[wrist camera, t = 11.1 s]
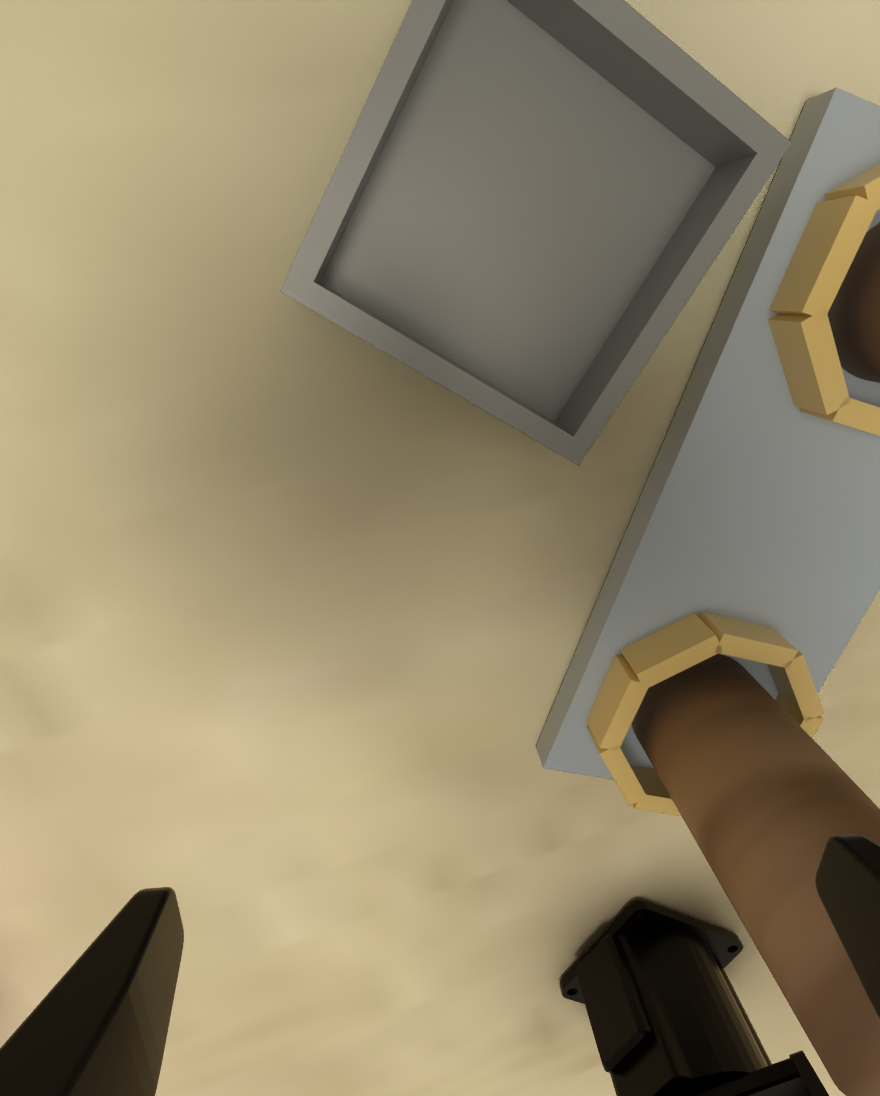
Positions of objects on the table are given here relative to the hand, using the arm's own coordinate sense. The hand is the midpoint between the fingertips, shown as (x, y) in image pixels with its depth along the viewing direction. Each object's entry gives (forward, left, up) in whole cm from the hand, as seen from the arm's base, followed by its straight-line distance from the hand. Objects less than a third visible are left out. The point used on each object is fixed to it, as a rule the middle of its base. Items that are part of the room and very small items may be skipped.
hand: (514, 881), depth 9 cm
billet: (-11, +1, -12) cm, 17 cm away
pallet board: (-10, -6, -13) cm, 17 cm away
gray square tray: (+3, -9, -13) cm, 16 cm away
